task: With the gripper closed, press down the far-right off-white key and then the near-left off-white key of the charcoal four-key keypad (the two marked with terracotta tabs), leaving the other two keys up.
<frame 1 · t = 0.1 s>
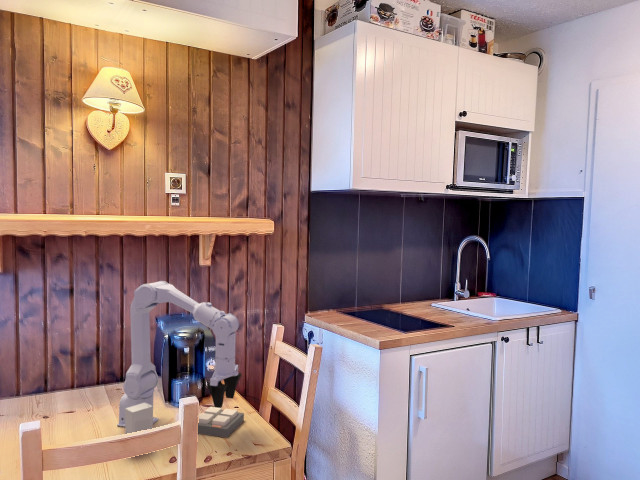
hand: (224, 402, 138), 10 cm above the table, tool pointing down, fingers open, 7 cm apart
key near left: (213, 412, 148), point 3 cm above the table, slide at 0.0 cm
console: (216, 426, 145), on the table
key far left: (228, 414, 147), point 3 cm above the table, slide at 0.0 cm
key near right: (204, 419, 143), point 3 cm above the table, slide at 0.0 cm
key far right: (221, 421, 142), point 3 cm above the table, slide at 0.0 cm
skincare box: (138, 451, 128), on the table
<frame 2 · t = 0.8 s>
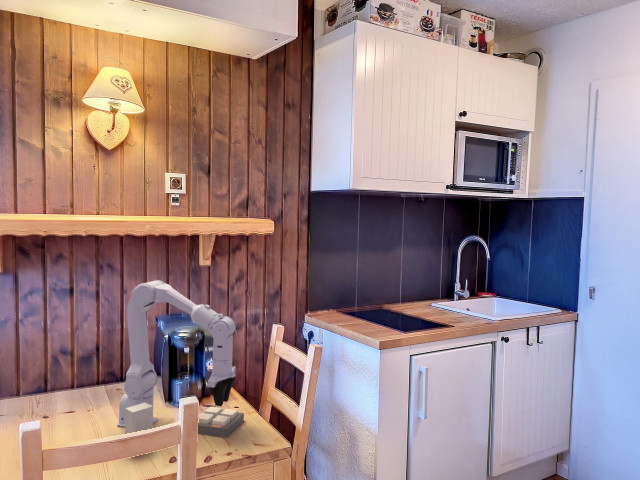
hand: (221, 403, 141), 8 cm above the table, tool pointing down, fingers open, 3 cm apart
nothing on the table moved.
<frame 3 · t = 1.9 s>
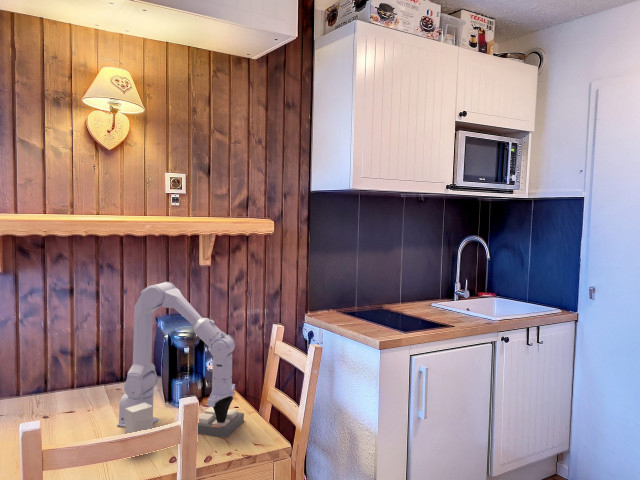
hand: (221, 421, 142), 3 cm above the table, tool pointing down, fingers closed, pressing on key far right
key far right: (221, 424, 142), point 2 cm above the table, slide at 0.9 cm, touching gripper
everything else where it was.
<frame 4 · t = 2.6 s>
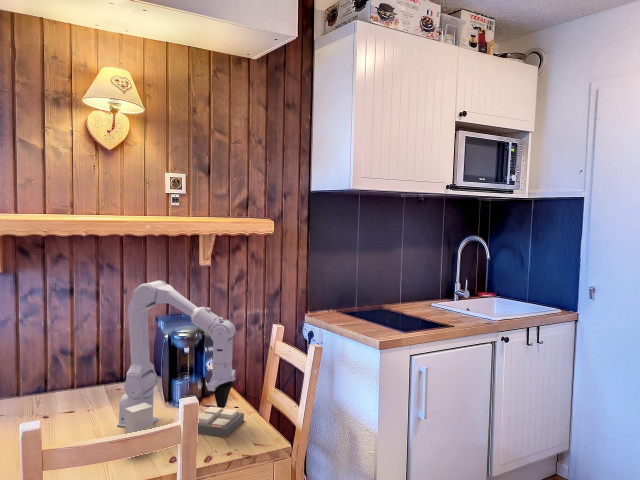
hand: (221, 406, 141), 7 cm above the table, tool pointing down, fingers closed
key far right: (221, 424, 142), point 2 cm above the table, slide at 0.9 cm
everything else where it was.
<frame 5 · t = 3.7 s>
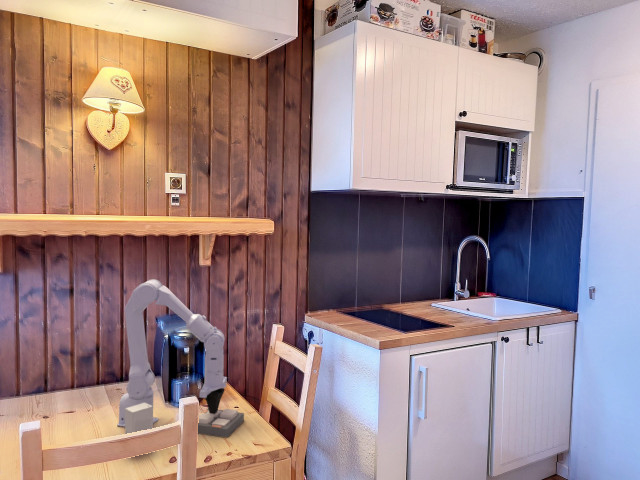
hand: (213, 412, 148), 3 cm above the table, tool pointing down, fingers closed, pressing on key near left
key near left: (213, 415, 148), point 2 cm above the table, slide at 0.9 cm, touching gripper
everything else where it was.
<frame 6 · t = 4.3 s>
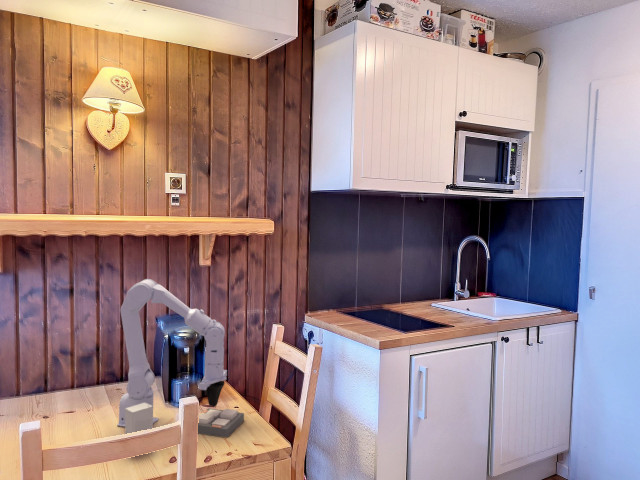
hand: (213, 405, 148), 5 cm above the table, tool pointing down, fingers closed
key near left: (213, 415, 148), point 2 cm above the table, slide at 0.9 cm
everything else where it was.
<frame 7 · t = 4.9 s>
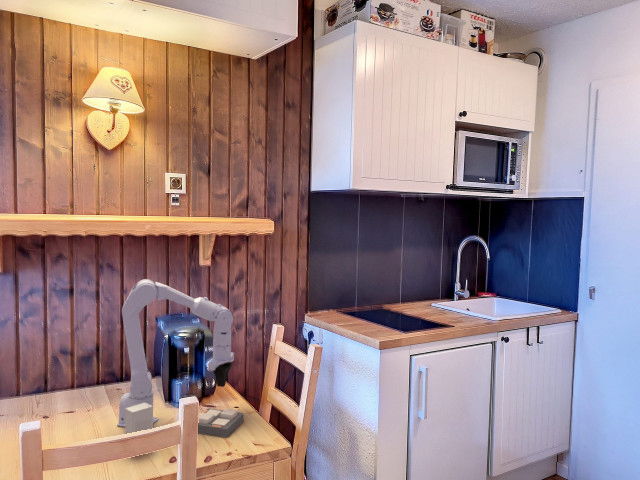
hand: (221, 385, 154), 9 cm above the table, tool pointing down, fingers closed
nothing on the table moved.
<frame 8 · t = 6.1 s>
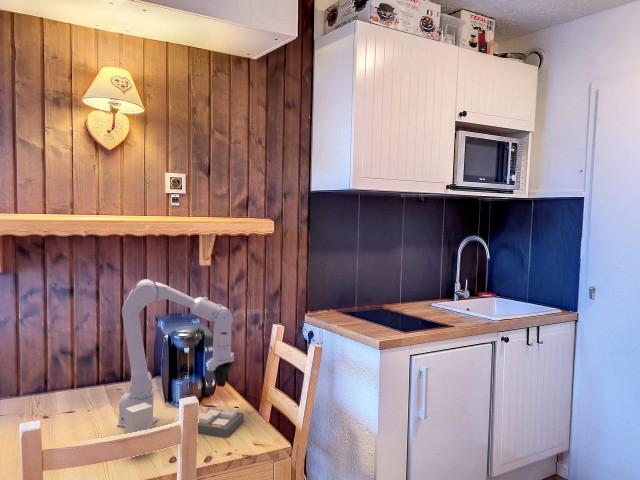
hand: (221, 385, 154), 9 cm above the table, tool pointing down, fingers closed
nothing on the table moved.
at the end: key far right slide at 0.9 cm; key near left slide at 0.9 cm; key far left slide at 0.0 cm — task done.
